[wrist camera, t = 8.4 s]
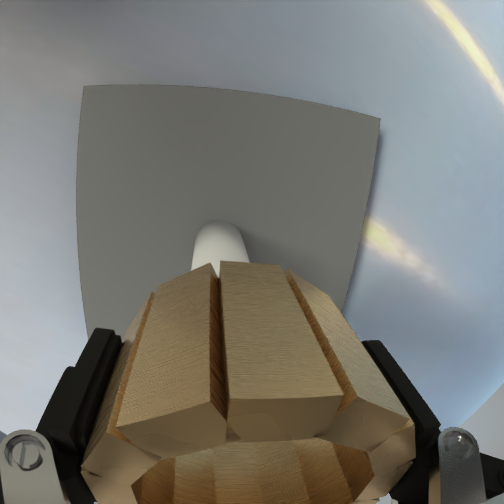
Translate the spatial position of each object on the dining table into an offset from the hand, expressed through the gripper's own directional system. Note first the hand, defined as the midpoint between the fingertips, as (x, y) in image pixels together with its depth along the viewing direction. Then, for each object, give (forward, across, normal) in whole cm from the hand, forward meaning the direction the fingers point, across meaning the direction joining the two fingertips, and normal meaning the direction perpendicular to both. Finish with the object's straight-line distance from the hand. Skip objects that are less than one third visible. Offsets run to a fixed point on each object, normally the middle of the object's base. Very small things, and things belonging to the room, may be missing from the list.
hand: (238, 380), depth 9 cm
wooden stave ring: (+1, 0, 0) cm, 1 cm away
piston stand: (+14, 0, 0) cm, 14 cm away
